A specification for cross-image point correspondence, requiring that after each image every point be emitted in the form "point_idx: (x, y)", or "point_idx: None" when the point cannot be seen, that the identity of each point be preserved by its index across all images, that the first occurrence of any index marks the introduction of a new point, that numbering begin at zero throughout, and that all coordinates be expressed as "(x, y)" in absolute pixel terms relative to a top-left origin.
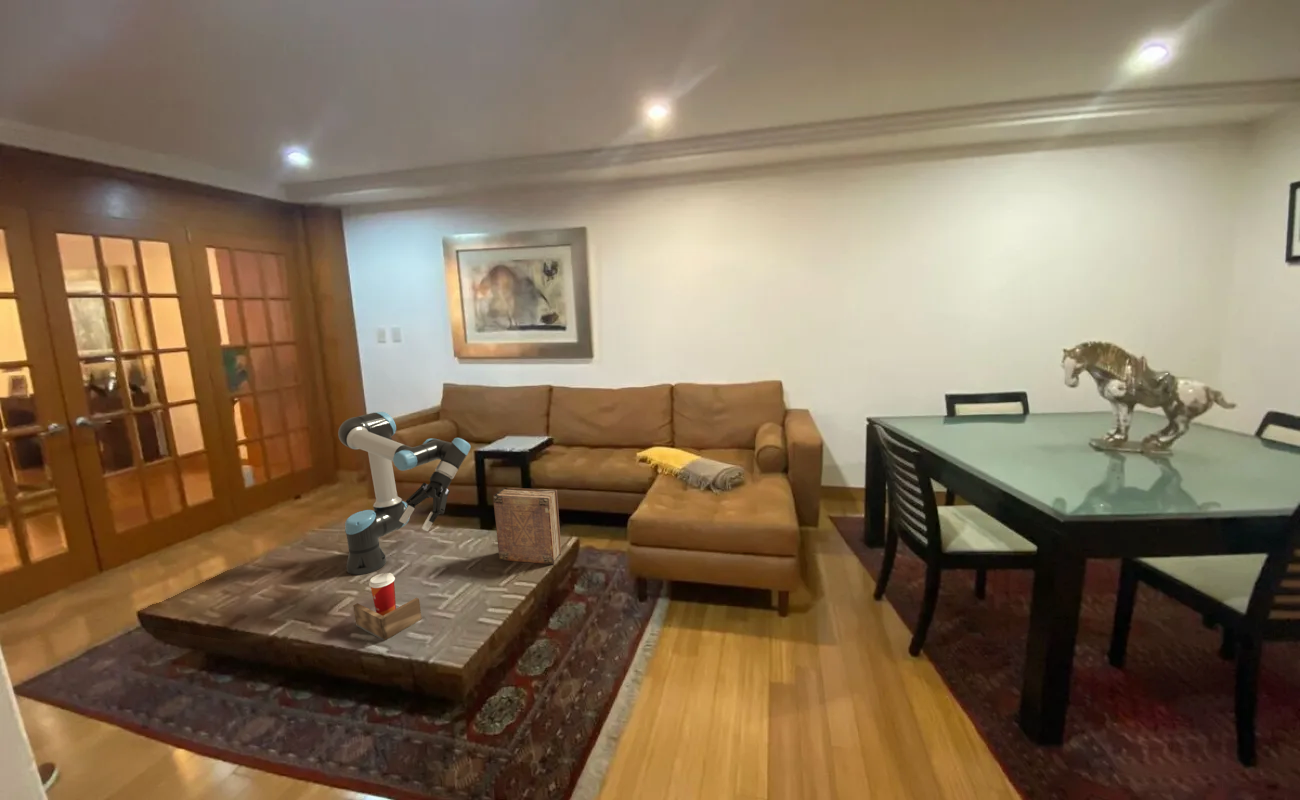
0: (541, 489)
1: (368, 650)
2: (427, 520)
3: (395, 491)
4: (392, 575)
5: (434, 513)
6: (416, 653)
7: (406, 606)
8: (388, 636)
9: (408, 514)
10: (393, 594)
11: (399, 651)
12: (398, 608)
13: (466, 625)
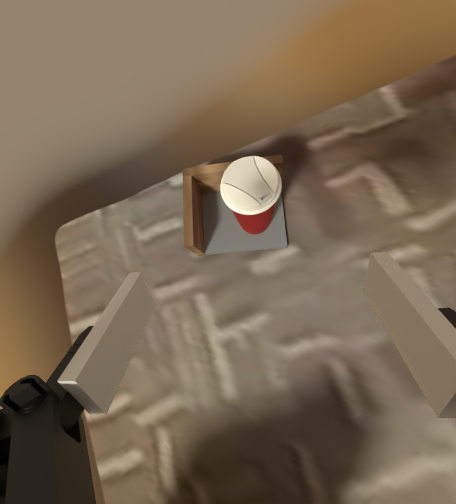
0: None
1: (195, 166)
2: (104, 315)
3: None
4: (236, 203)
5: (52, 387)
6: (127, 205)
7: (184, 218)
8: None
9: (400, 329)
10: (233, 213)
11: (153, 192)
12: (188, 203)
13: (115, 289)
